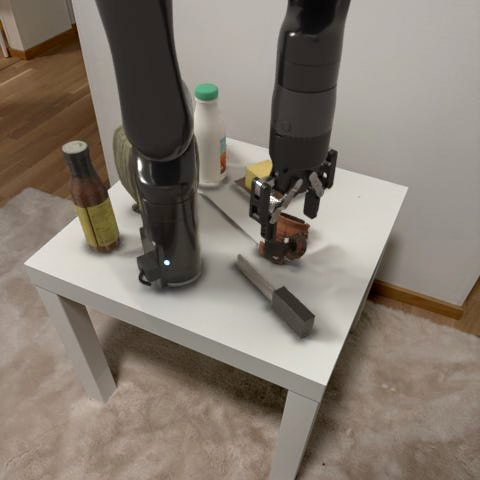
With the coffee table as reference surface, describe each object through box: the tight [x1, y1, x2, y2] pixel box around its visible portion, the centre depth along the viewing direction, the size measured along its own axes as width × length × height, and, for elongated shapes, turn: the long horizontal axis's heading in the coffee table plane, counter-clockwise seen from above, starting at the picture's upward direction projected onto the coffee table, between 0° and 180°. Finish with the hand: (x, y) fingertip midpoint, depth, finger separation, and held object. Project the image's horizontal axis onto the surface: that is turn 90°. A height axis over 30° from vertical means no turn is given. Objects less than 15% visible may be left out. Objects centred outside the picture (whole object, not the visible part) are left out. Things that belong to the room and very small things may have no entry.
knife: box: [236, 253, 316, 339], centre depth 75 cm, size 2×20×4 cm, turn 35°
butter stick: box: [245, 159, 272, 190], centre depth 95 cm, size 6×5×4 cm
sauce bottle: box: [61, 140, 121, 253], centre depth 78 cm, size 7×6×20 cm
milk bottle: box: [193, 82, 227, 184], centre depth 93 cm, size 8×8×20 cm
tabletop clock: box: [112, 124, 200, 212], centre depth 83 cm, size 14×9×25 cm, turn 123°
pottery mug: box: [258, 211, 311, 264], centre depth 83 cm, size 12×10×8 cm
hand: (289, 227), depth 66 cm, fingers open, 8 cm apart
